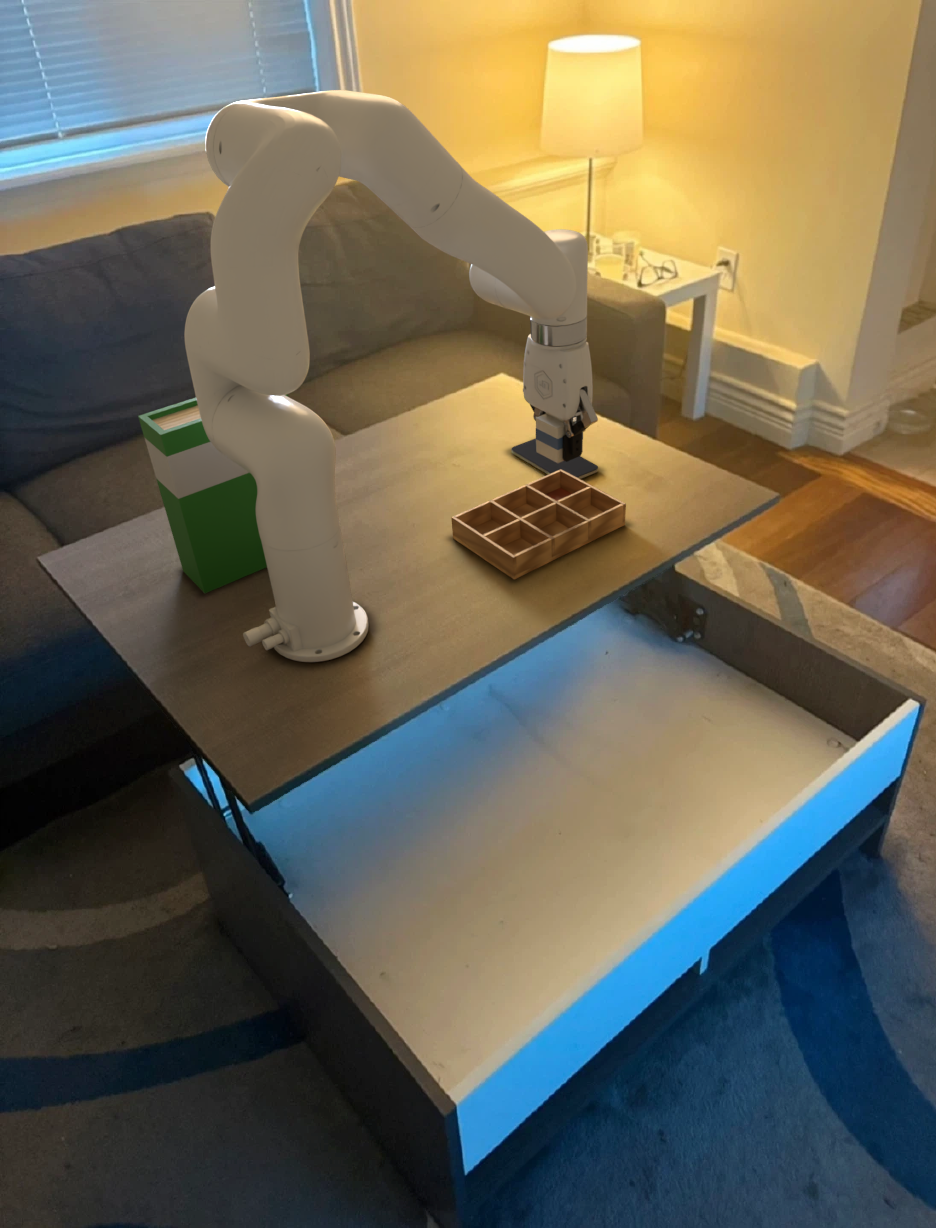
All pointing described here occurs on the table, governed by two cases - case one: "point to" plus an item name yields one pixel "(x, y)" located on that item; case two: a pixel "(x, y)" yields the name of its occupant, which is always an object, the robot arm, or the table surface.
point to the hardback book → (203, 498)
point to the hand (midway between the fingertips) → (559, 450)
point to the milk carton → (551, 436)
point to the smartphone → (574, 467)
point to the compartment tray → (538, 522)
